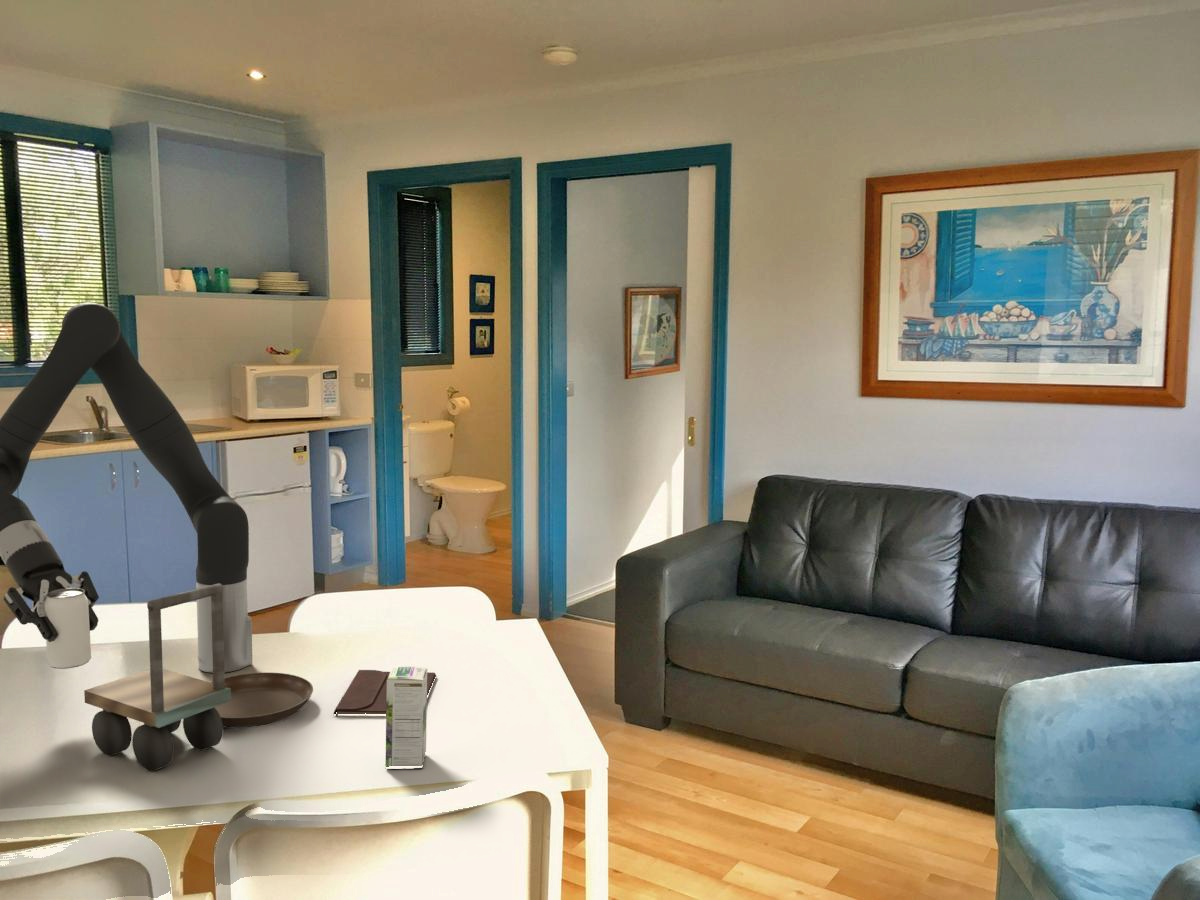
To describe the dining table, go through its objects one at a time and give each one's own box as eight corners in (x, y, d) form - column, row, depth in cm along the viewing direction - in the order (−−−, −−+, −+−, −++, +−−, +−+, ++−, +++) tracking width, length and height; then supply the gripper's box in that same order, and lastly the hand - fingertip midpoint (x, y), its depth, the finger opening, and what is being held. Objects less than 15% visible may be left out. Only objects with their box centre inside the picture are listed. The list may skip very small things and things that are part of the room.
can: (73, 671, 168) (69, 599, 166) (38, 667, 169) (34, 596, 167) (100, 657, 174) (96, 588, 172) (66, 654, 175) (62, 586, 174)
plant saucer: (242, 744, 166) (242, 725, 165) (162, 716, 177) (161, 697, 176) (338, 705, 183) (338, 687, 183) (259, 681, 194) (259, 664, 194)
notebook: (436, 680, 198) (436, 670, 198) (421, 720, 178) (421, 709, 178) (357, 679, 197) (357, 669, 197) (333, 719, 178) (333, 708, 178)
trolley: (86, 752, 161) (79, 584, 158) (159, 724, 172) (154, 568, 169) (160, 779, 152) (154, 603, 149) (232, 749, 163) (228, 584, 160)
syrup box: (389, 754, 163) (389, 666, 161) (427, 754, 163) (427, 665, 161) (385, 770, 157) (384, 678, 155) (424, 770, 158) (424, 678, 156)
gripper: (-7, 548, 166) (40, 631, 162) (77, 532, 179) (123, 609, 174) (-23, 575, 170) (23, 658, 166) (60, 558, 182) (105, 634, 178)
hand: (74, 633), depth 170 cm, fingers closed on can, 6 cm apart
